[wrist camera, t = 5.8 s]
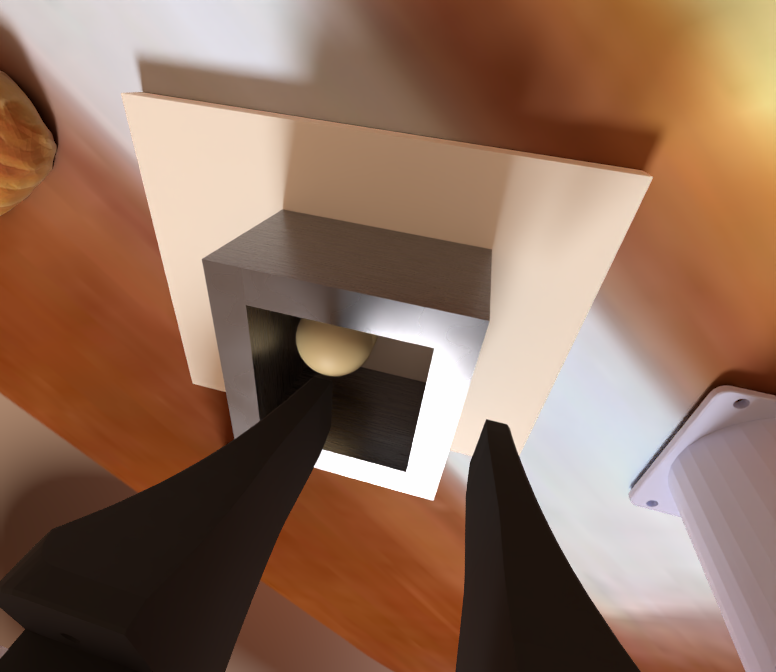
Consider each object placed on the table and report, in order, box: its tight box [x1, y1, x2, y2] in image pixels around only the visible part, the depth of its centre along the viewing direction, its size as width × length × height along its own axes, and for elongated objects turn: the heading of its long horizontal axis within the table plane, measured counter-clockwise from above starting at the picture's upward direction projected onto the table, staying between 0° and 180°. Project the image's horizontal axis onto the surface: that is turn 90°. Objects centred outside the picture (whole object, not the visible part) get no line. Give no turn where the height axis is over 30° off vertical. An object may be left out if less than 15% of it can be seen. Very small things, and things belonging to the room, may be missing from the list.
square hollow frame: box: [202, 209, 492, 500], centre depth 15 cm, size 8×8×5 cm
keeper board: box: [121, 92, 653, 456], centre depth 16 cm, size 18×14×4 cm
